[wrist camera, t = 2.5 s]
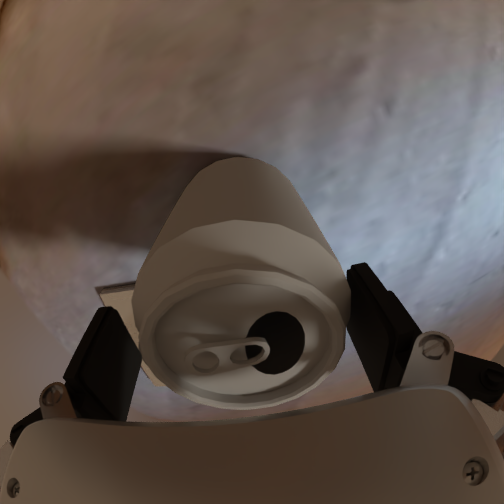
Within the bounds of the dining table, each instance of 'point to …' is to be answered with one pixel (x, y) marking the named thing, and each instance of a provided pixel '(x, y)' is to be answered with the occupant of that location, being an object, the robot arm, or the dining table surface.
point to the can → (241, 292)
